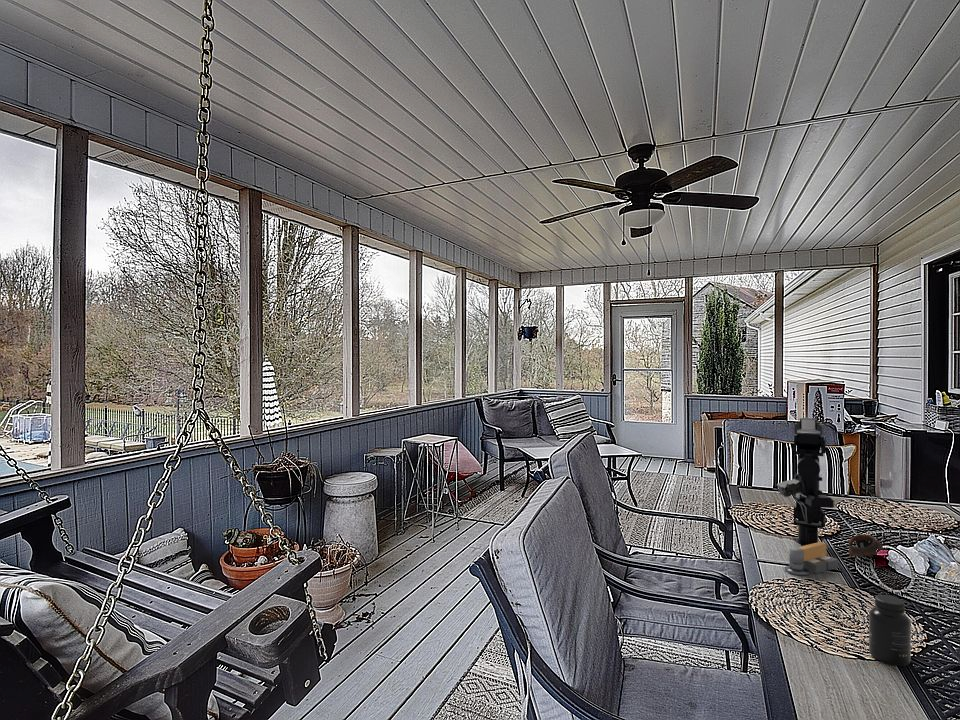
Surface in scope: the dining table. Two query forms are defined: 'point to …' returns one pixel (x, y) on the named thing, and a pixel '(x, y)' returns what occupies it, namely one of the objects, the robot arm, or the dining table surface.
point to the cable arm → (807, 552)
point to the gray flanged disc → (796, 569)
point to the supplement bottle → (890, 631)
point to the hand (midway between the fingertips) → (808, 523)
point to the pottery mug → (864, 546)
